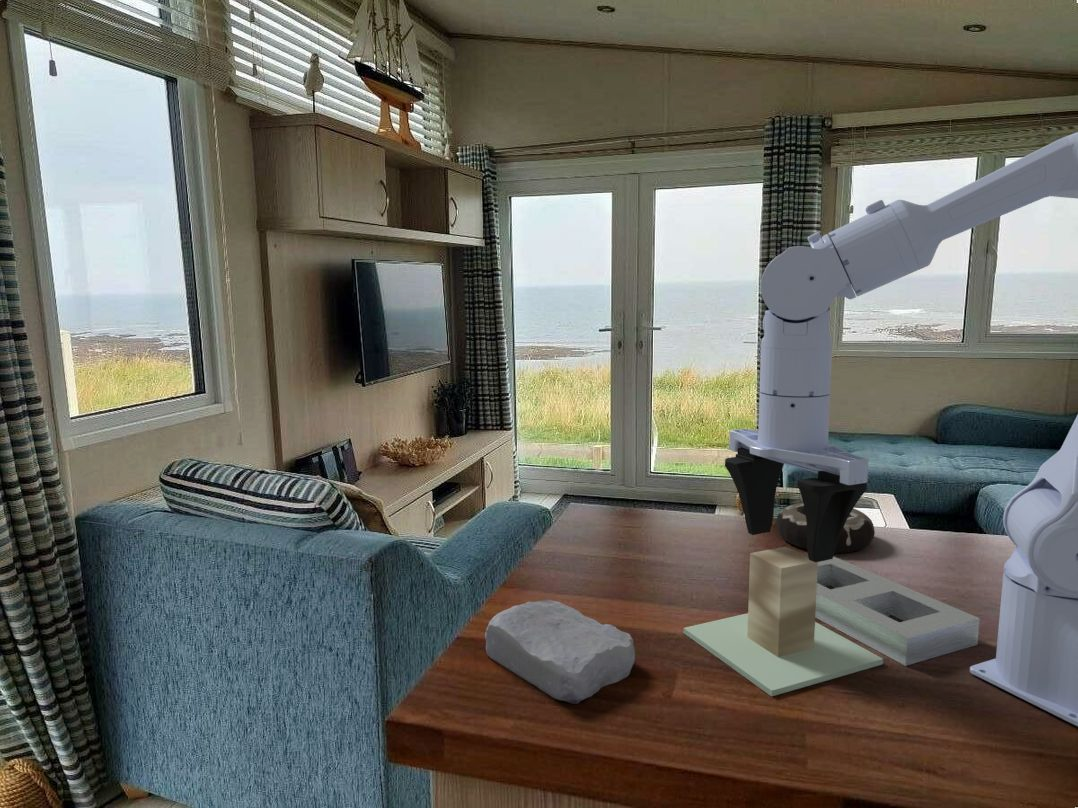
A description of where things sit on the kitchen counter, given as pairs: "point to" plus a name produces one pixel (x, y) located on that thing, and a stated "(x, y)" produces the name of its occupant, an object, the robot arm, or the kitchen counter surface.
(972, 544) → the kitchen counter surface
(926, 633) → the rail
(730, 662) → the mat
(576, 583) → the kitchen counter surface
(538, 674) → the stone block
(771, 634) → the peg
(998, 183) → the robot arm
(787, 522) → the donut
